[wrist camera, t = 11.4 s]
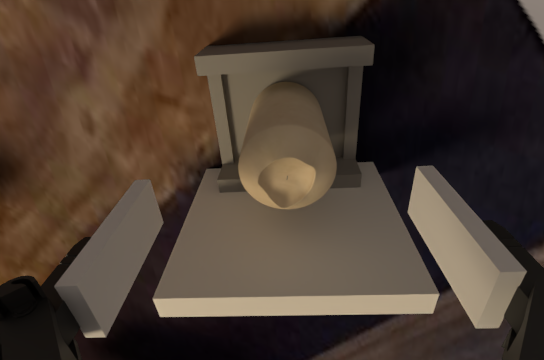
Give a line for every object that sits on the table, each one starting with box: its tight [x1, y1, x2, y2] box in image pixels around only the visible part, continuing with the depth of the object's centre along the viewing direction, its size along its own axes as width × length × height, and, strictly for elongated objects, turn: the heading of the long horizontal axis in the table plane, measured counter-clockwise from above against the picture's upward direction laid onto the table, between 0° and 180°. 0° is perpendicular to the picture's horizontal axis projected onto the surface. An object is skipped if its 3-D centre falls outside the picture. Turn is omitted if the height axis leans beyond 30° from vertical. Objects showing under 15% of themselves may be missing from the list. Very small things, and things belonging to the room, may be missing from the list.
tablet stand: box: [153, 36, 439, 317], centre depth 20 cm, size 15×12×14 cm
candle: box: [238, 82, 337, 209], centre depth 20 cm, size 6×6×10 cm
